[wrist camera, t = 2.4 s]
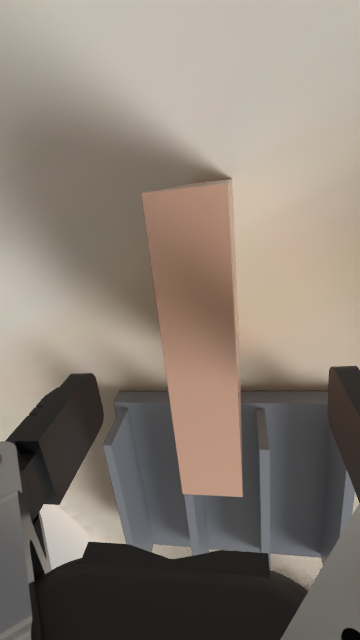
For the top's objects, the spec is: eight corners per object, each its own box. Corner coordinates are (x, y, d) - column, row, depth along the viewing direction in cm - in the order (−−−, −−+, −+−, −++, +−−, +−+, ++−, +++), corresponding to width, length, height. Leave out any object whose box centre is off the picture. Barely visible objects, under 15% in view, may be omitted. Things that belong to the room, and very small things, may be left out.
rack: (119, 391, 28) (93, 439, 23) (343, 391, 25) (370, 446, 20) (146, 528, 34) (131, 589, 29) (329, 541, 31) (347, 612, 26)
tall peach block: (190, 183, 21) (141, 192, 10) (232, 178, 20) (227, 183, 10) (205, 356, 25) (182, 494, 14) (239, 355, 25) (242, 497, 14)
